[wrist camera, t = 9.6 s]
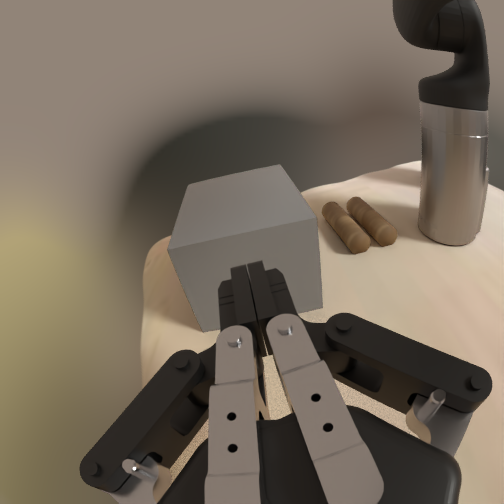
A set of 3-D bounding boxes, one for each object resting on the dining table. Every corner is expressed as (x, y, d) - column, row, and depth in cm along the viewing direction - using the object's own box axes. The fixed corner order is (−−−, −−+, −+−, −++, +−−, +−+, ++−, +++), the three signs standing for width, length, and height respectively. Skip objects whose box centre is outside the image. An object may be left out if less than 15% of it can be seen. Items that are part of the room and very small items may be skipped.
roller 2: (345, 199, 40) (347, 216, 42) (378, 231, 32) (379, 250, 33) (361, 194, 40) (363, 210, 42) (397, 224, 32) (397, 243, 33)
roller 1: (318, 209, 41) (328, 222, 42) (346, 244, 32) (355, 258, 34) (333, 198, 40) (342, 211, 41) (365, 229, 32) (373, 245, 33)
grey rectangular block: (290, 231, 41) (280, 164, 35) (322, 308, 27) (316, 217, 22) (208, 249, 41) (188, 184, 36) (203, 333, 28) (167, 249, 22)
